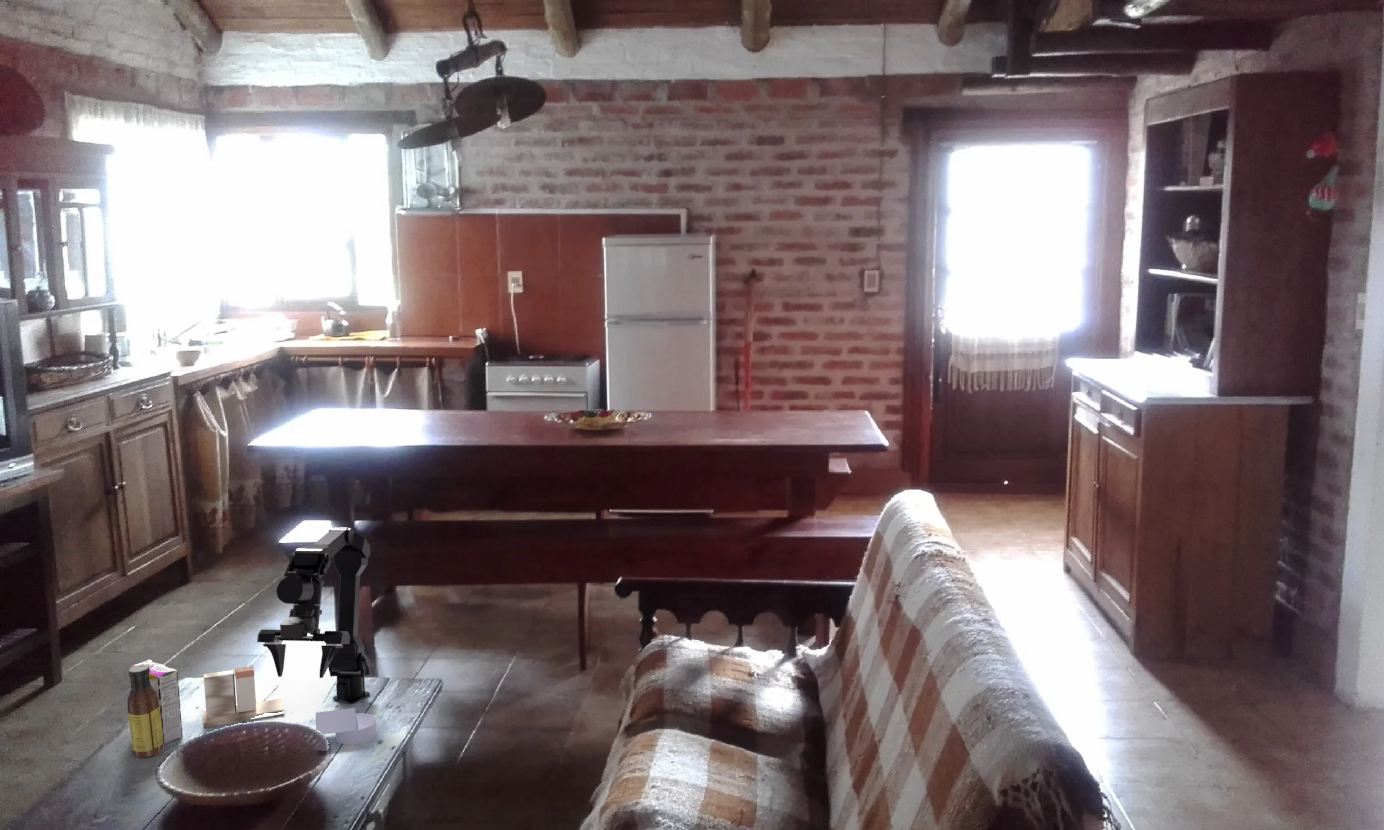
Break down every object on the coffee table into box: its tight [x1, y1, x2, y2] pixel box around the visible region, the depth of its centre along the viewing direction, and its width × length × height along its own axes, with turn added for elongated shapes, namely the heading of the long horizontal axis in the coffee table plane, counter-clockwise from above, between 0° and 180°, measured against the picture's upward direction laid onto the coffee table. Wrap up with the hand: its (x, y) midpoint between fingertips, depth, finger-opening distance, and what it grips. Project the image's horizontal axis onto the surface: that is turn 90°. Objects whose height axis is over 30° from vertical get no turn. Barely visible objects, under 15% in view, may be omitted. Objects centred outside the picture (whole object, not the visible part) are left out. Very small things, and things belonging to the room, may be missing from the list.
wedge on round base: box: [315, 707, 378, 745], centre depth 250 cm, size 9×7×13 cm
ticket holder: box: [202, 669, 285, 729], centre depth 260 cm, size 18×7×11 cm, turn 115°
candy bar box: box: [130, 659, 184, 745], centre depth 249 cm, size 11×5×16 cm, turn 58°
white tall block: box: [234, 665, 257, 713], centre depth 260 cm, size 4×3×10 cm
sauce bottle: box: [127, 665, 164, 758], centre depth 240 cm, size 6×6×20 cm
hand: (300, 677), depth 240 cm, fingers open, 9 cm apart
